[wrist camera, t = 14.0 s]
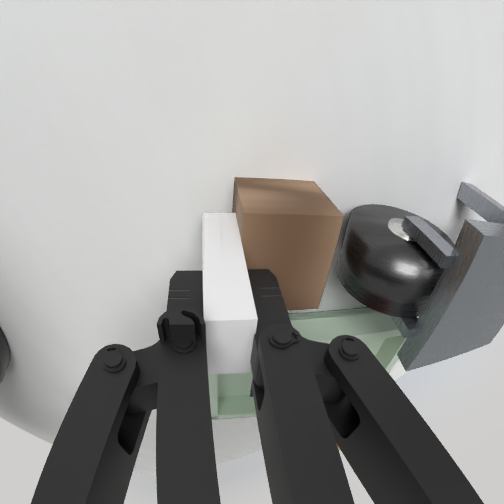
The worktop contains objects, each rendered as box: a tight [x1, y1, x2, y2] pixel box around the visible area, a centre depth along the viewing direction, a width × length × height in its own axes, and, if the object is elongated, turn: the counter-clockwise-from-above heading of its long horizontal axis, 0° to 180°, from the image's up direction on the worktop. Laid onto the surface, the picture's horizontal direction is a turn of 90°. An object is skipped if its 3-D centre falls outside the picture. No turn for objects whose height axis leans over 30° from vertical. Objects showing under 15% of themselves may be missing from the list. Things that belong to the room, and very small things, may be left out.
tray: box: [208, 307, 407, 419], centre depth 22 cm, size 16×11×2 cm
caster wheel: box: [336, 182, 504, 371], centre depth 14 cm, size 11×8×8 cm
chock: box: [232, 177, 344, 310], centre depth 14 cm, size 4×5×4 cm
